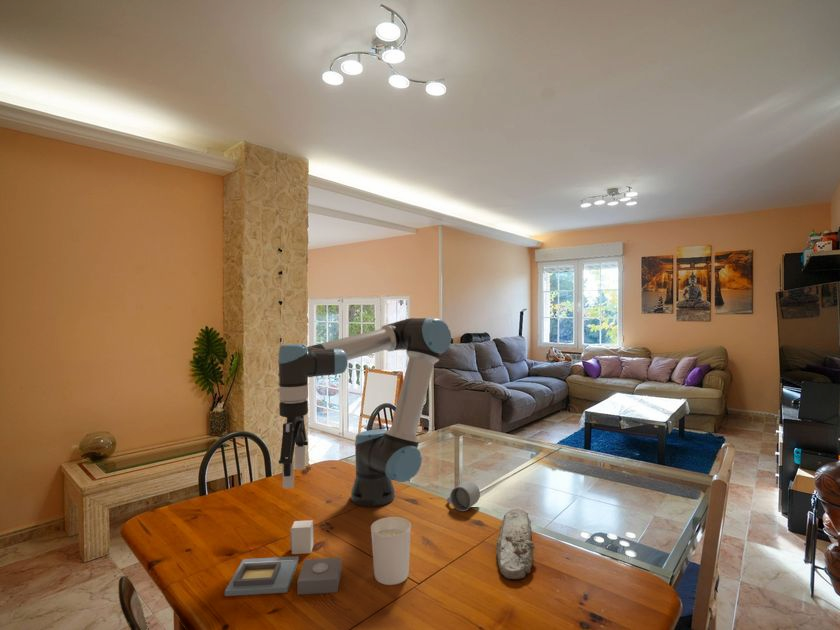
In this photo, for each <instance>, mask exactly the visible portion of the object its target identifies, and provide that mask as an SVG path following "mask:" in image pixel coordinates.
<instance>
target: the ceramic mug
mask: <svg viewBox="0 0 840 630" xmlns="http://www.w3.org/2000/svg"><path fill="white" fill-rule="evenodd" d="M449 495H450V496H449V497H447V498H446V502H447V504H449V505H450V504H452V506H453V507H454V509H455V510H457V511H460V512H466V511H469V509H470V508H472V507H473V506H475V504H476V503H478V501H479V500H480V498H481V492H480V489H479V487H478V485H477V484H476V483H474V482H471V481H466V482H463V483H461V484H460V485H458V486H456V487H453V489H452V490H451V492H450V494H449Z"/></svg>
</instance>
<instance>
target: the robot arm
mask: <svg viewBox="0 0 840 630" xmlns="http://www.w3.org/2000/svg"><path fill="white" fill-rule="evenodd" d="M451 342H452V333H451V330H450V329H449V326H448V324H447V323H446V322H445V321H444V320H442V319H440V318H434V317H409V318H405V319H402V320H399V321H395V322H392V323H389V324H385V325H382V326H381V327H380V328H379V329H376V330H371V331H368V332H363V333H359V334H354V335H350V336H347V337H342V338H339V339H335V340H330V341H324V342H321V343H318V344H313V345H309V346H308V345H306V344H305V343H287V344H283V345H281V346H280V347H279V350H278V361H277V363H278V379H279V380H278V382H279V383H278V385H279V387H278V389H277V390H276V391H277V392H278V393H279V394H278V395H279V401H280V402H279V403H278V404H279V408H278V409H279V410H278V411H279V416H280V417H283V418H286V422H285V423H283V424H282V439H281V448H280V455H279V457H280V458H279V460H278V464H281V465H282V489H294V488H295V470H296V471H297V470H306V446H309V441H307V434H306V433H307V432H306V425H305V417H304V416H306V415H308V413H309V402H308V398H309V391H308V389H309V388H308V387H309V386H308V385H309V383H308V379H309V378H315V377H323V376H335V375H340V374H343V373H345V372H346V370H347V368H348V361H350V360H353V359H356V358H357V359H359V358H362V357H364V356H368V355H372V354H376V353H379V352H383V351H387V352H393V351H398V350H399V351H401V350H402V351H403V350H404V351H405V352H406V355H407V357H408V361H407V366H406V370H405V372H404V377H403V381H402V385H401V388H400V392H399V396H398V400H397V403H396V404H397V405H396V408H395V411H394V415H393V419H392V422H391V426H390V428H389V429H370V430H364V431H361V432H358V433H357V434H356V436H355V443H354V447H355V449H354V450H355V479H354V482H353V483H352V488H351V491H350V500H351V502H352V503H353V504H355V505H357V506H361V507H370V508H371V507H379V506H383V505H388V504H389V503H391V502H392V501H394V499H395V498H396V497H395V495H396V494H395V492H396V490H395V486H394V484H393V481H394V482H397V483H405V482H406V483H407V482H408V481H411V479H412V478H414V477H415V476H417V474H418V473H419V471H420V469H421V466H422V463H423V457H422V455H421V454H422V453H421V451H420V450H419V448H418V447H419V444H420V440H419V438H418V437H417V432H418V428H419V425H420V424H419V423H420V420H421V416H422V414H423V413H422V411H423V409H424V404H425V401H426V397H427V392H428V389H429V385H430V381H431V377H432V371H433V368H434V365H435V364H437V363H438V362H439V361H440V358H441V354H443V353H446V352H447V351H448V349H449V348H450V346H451ZM294 458H295V459H294ZM293 460H294V461H293ZM294 463H295V464H294ZM294 466H295V467H294ZM294 468H295V469H294Z"/></svg>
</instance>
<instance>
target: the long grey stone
mask: <svg viewBox="0 0 840 630" xmlns="http://www.w3.org/2000/svg"><path fill="white" fill-rule="evenodd" d="M531 522H532V521H531V520H530V517H529V513H528V512H526V511H525V510H523V509H519V508H514V509H511V510H509V511H507V512H506V513H505V514H504V515H503V518H502V523H501V525H500V526H499V530H500V531H499V534H498V538H497V540H496V547H495V550H496V556H497V558H496V559H497V566H498V567H499V571H500V573H501V575H503V577H504V578H506V579H509V580H511V579H512V580H519V579H520V580H521V579H524V578H525V577H526V575H527V574H529V573H531V568H532V566H533V561H534V557H533V556H534V549H535V547H536V546H535V543H534V541H531V540H532V534H533V533H532V523H531Z"/></svg>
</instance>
